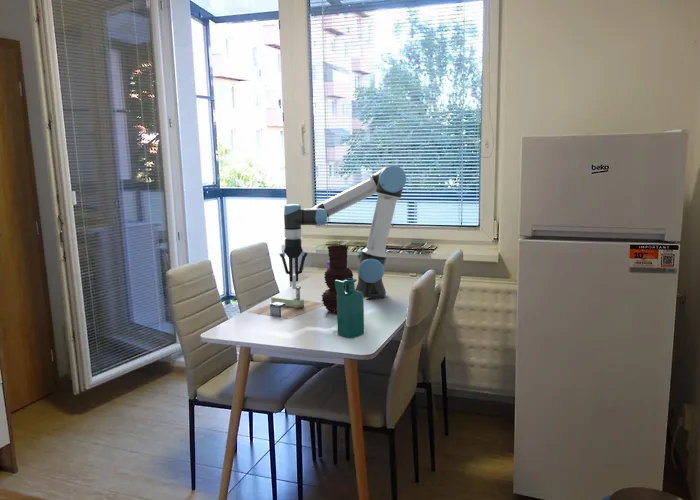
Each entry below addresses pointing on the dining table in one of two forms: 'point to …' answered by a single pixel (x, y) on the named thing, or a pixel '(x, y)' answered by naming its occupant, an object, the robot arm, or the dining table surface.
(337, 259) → the vase
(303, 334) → the dining table surface
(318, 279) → the dining table surface
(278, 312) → the block
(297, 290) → the peg
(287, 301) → the link
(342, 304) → the green bottle
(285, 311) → the board
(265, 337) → the dining table surface
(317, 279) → the dining table surface
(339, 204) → the robot arm
